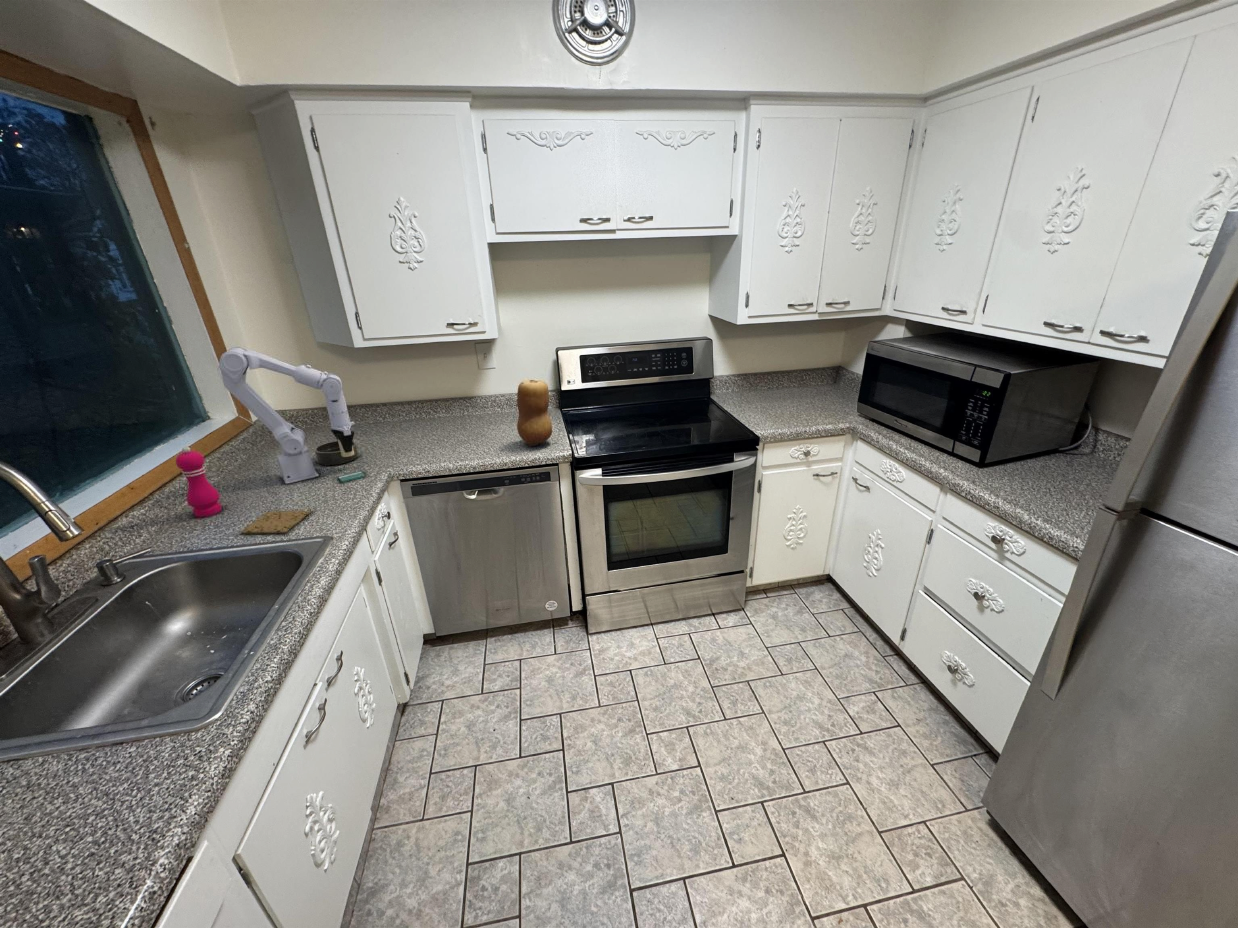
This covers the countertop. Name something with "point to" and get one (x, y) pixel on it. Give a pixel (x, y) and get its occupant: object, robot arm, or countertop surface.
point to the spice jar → (344, 451)
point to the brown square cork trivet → (275, 522)
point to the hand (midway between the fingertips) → (346, 450)
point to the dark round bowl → (333, 454)
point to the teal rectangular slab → (351, 476)
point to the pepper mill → (198, 484)
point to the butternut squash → (533, 412)
